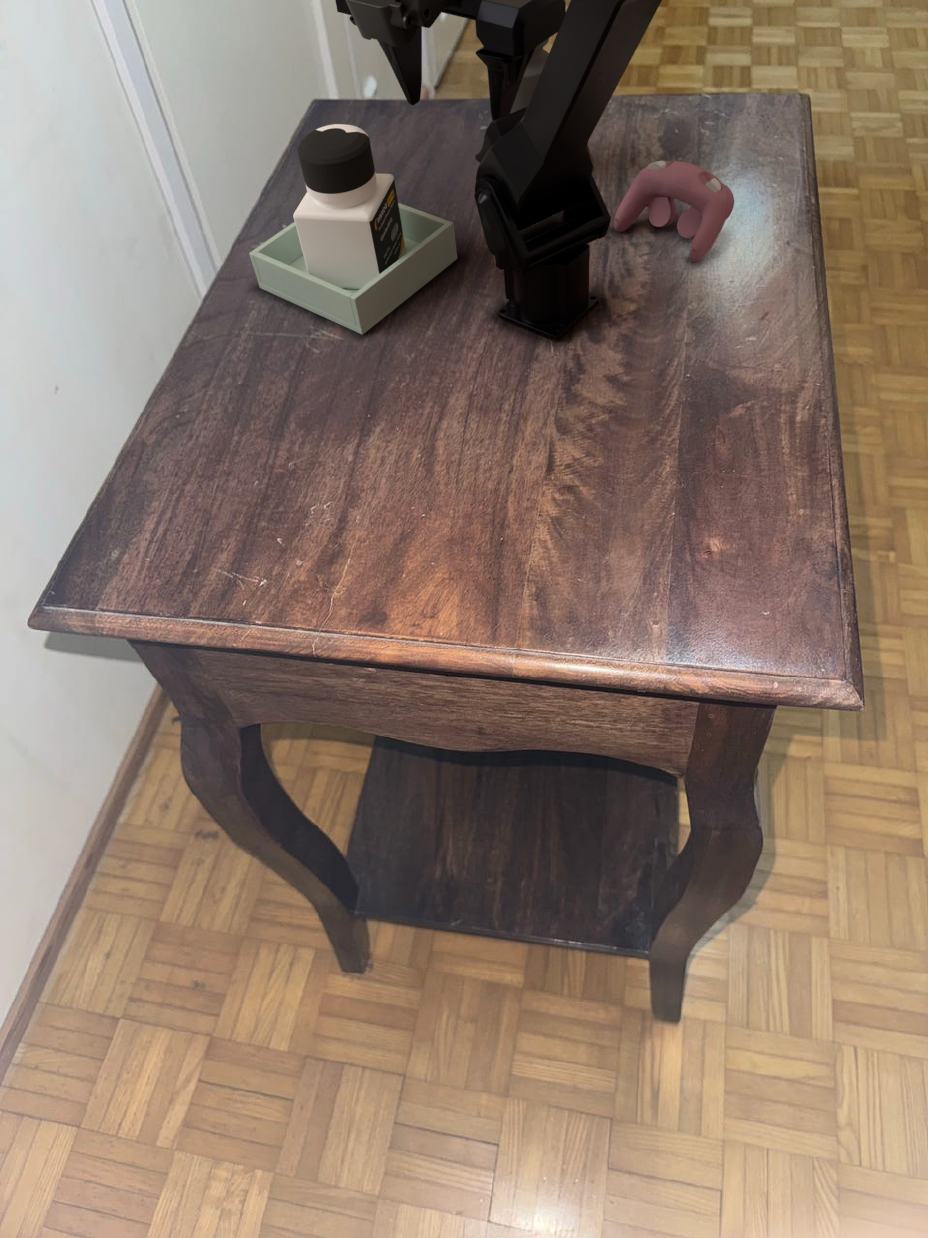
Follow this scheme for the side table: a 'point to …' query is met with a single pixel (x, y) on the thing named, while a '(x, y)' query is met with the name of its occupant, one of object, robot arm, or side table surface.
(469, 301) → the side table surface
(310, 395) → the side table surface
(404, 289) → the tray
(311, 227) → the medicine bottle
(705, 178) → the video game controller
